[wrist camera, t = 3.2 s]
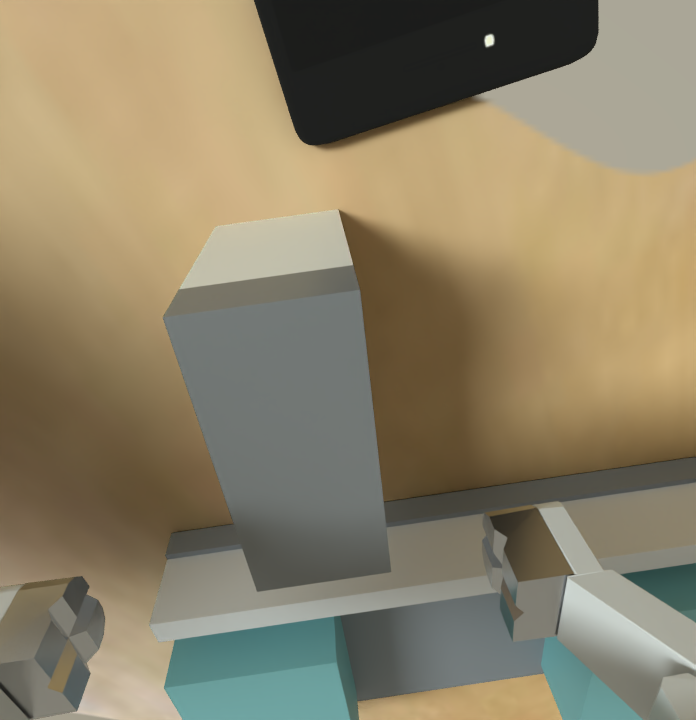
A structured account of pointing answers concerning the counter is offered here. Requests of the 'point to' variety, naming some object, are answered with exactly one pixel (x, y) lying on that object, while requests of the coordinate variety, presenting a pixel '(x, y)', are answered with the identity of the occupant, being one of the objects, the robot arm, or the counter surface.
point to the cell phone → (411, 54)
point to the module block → (285, 396)
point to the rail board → (412, 604)
